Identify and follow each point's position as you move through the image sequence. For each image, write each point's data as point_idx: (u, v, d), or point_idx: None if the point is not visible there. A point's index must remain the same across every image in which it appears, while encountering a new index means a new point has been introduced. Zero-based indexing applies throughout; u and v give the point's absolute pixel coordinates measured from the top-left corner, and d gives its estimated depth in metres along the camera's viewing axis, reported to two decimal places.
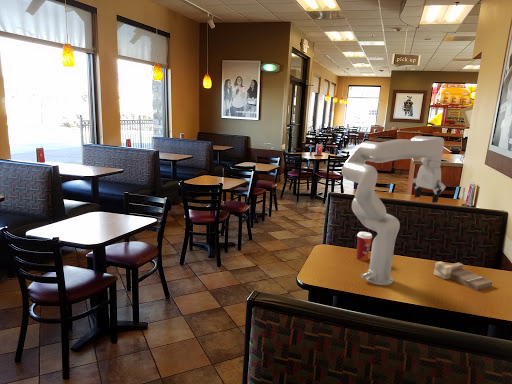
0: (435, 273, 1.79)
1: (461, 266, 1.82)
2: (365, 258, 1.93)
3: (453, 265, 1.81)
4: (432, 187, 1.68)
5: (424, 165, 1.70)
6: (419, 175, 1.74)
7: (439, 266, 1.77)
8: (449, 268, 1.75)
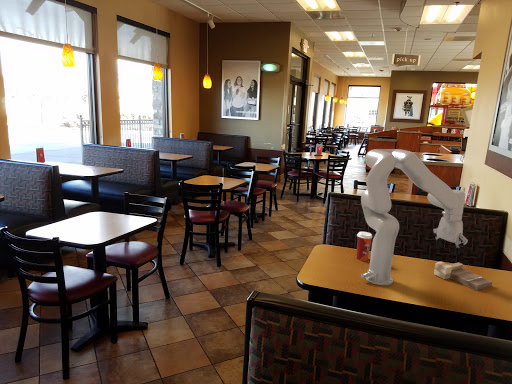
0: (435, 273, 1.79)
1: (461, 266, 1.82)
2: (365, 258, 1.93)
3: (453, 265, 1.81)
4: (454, 240, 1.69)
5: (445, 218, 1.71)
6: (440, 227, 1.75)
7: (439, 266, 1.77)
8: (449, 268, 1.75)
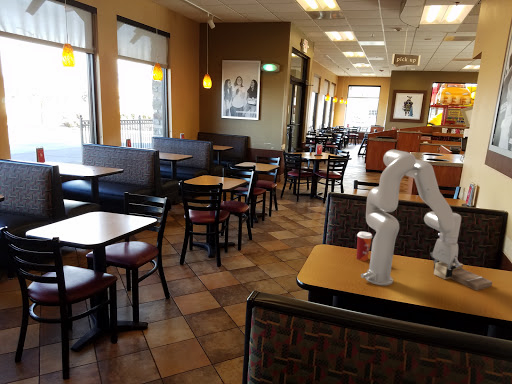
0: (435, 273, 1.79)
1: (461, 266, 1.82)
2: (365, 258, 1.93)
3: None
4: (449, 262, 1.72)
5: (441, 240, 1.74)
6: (436, 248, 1.77)
7: (439, 266, 1.77)
8: None
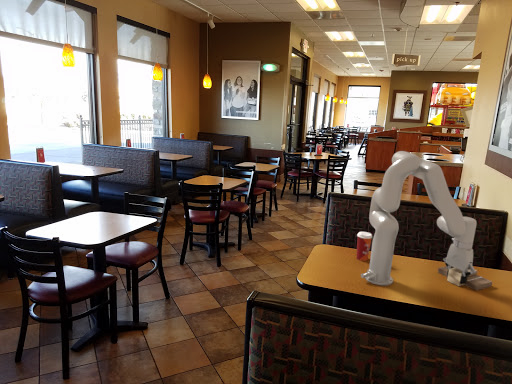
0: (449, 279, 1.73)
1: (475, 272, 1.76)
2: (365, 258, 1.93)
3: None
4: (464, 269, 1.65)
5: (455, 246, 1.67)
6: (450, 254, 1.71)
7: (453, 273, 1.71)
8: None
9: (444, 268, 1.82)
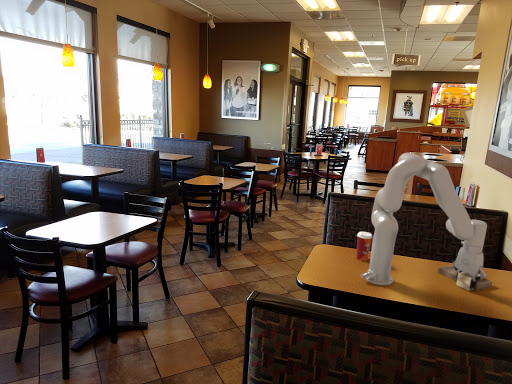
0: (458, 284, 1.69)
1: None
2: (365, 258, 1.93)
3: None
4: (474, 273, 1.61)
5: (465, 249, 1.63)
6: (459, 258, 1.67)
7: (463, 277, 1.67)
8: None
9: (444, 268, 1.82)
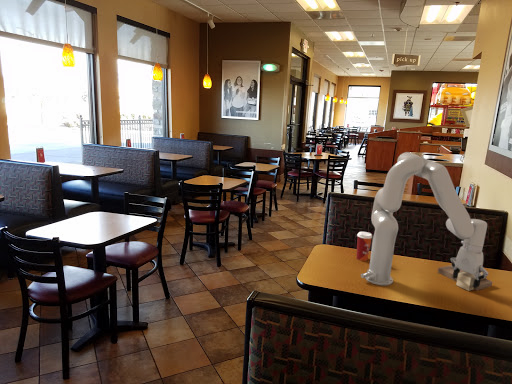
0: (458, 284, 1.69)
1: None
2: (365, 258, 1.93)
3: None
4: (474, 272, 1.61)
5: (465, 248, 1.63)
6: (459, 257, 1.67)
7: (463, 277, 1.67)
8: (473, 279, 1.65)
9: (444, 268, 1.82)
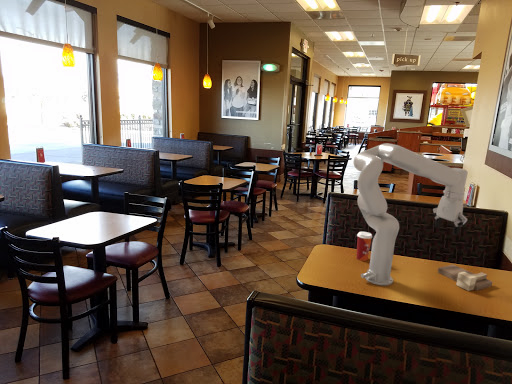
0: (458, 284, 1.69)
1: (485, 276, 1.72)
2: (365, 258, 1.93)
3: (477, 275, 1.70)
4: (453, 219, 1.66)
5: (446, 196, 1.68)
6: (440, 206, 1.72)
7: (463, 277, 1.67)
8: (473, 279, 1.65)
9: (444, 268, 1.82)
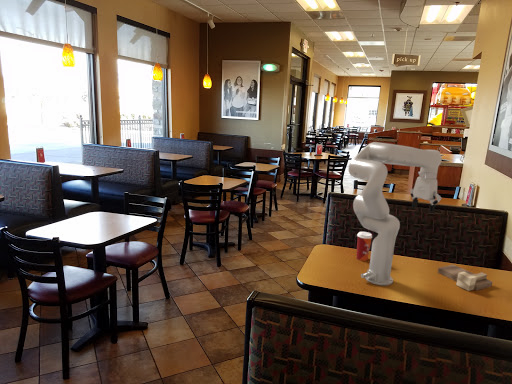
0: (458, 284, 1.69)
1: (485, 276, 1.72)
2: (365, 258, 1.93)
3: (477, 275, 1.70)
4: (428, 198, 1.75)
5: (421, 177, 1.77)
6: (416, 186, 1.80)
7: (463, 277, 1.67)
8: (473, 279, 1.65)
9: (444, 268, 1.82)
